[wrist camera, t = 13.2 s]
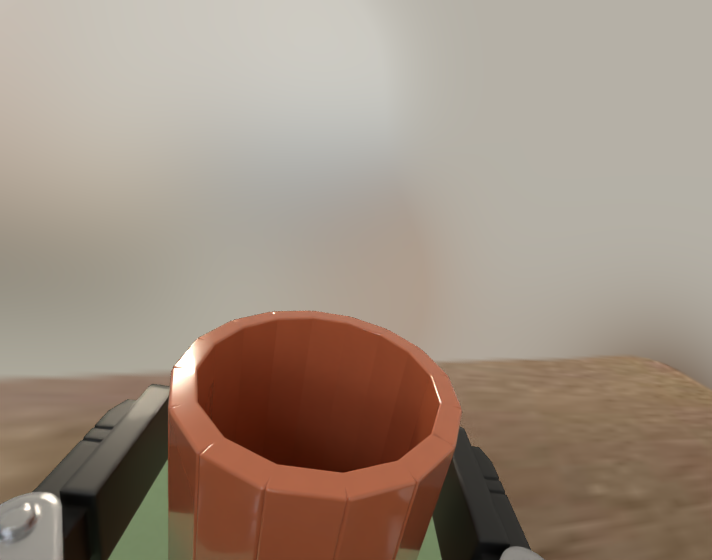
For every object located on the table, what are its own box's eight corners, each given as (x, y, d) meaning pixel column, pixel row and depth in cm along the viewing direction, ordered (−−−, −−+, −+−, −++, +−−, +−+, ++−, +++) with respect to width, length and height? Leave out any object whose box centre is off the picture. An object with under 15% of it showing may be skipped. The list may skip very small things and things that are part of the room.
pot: (119, 789, 8) (86, 467, 5) (215, 527, 14) (229, 297, 11) (380, 807, 9) (510, 519, 5) (369, 544, 15) (429, 328, 11)
